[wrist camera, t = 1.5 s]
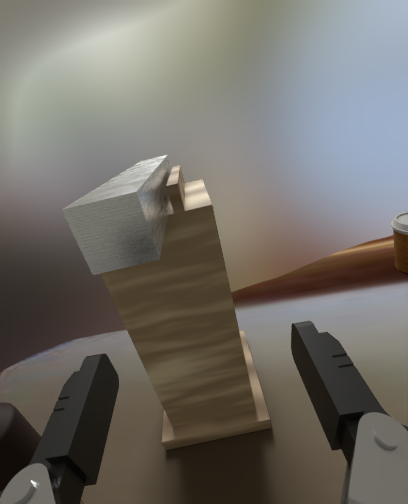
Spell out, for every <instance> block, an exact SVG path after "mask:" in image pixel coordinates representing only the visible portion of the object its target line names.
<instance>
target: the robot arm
mask: <svg viewBox="0 0 408 504" xmlns="http://www.w3.org/2000/svg"><path fill="white" fill-rule="evenodd" d="M291 350H292V355H293V359H294V361H295V364H296V366H297V369H298V371H299V373H300V376H301V378H302V380H303V383H304V385H305V388H306V390H307V392H308V395H309V397H310V399H311V402H312V404H313V406H314V409H315V411H316V413H317V416H318V418H319V421H320V423H321V425H322V428H323V430H324V432H325V435H326V437H327V439H328V442H329V444H330V446H331V449H332V450H339V449H342V451H343V453H344V456H345V458H346V460H347V466H346V472H345V479H344V485H343V491H342V498H341V504H408V427H406V426H404V425H402V424H400V423H399V422H398V421H397V420H395V419H393V418H392V417H391V416H389V415H388V414H387V413H386V412H385V411H384V409H383V408H382V407H381V405H380V404H379V402H378V401H377V399H376V398H375V396H374V395H373V393H372V392H371V390H370V389H369V387H368V385H367V384H366V382H365V381H364V379H363V378H362V376H361V375H360V373H359V372H358V370H357V368H356V367H355V366H354V365H353V362H352V361H351V359H350V358H349V356H347V353H346V352H345V350H344V348H343V347H342V345H341V344H340V342H339V341H338V340H337V339H335V338H334V337H333V336H332V335H330V334H329V333H328V332H324V333H318V331H317V329H316V328H315V326H314V324H313V323H312V322H311V321H306V322H300V323H293V324H292V332H291ZM118 388H119V378H118V374H117V372H116V371H115V369H114V367H113V365H112V363H111V362H110V360H109V358H108V356H107V355H106V354H99V355H92V356H87V357H86V358H85V359H84V361H83V363H82V366H81V368H80V371H77V372H74V373H73V374H72V375H71V377H70V378H69V379H68V380H67V382H66V383H65V384H64V386H63V389H62V391H61V393H60V395H59V398H58V399H59V400H58V401H57V402H56V405H55V407H54V409H53V410H54V411H53V413H52V414H51V416H50V419H49V421H48V423H47V425H46V428H45V430H44V432H43V435H42V437H41V439H40V442H39V444H38V446H37V449H36V451H35V453H34V456H33V458H32V460H31V462H30V463H29V465H28V466H27V467H25V468H24V469H22V470H21V471H20V472H19V473H17V474H16V475H15V476H14V477H13V478H12V480H11V481H10V482H9V483H8V485H7V486H6V488H5V489H4V490H2V491H1V492H0V504H83V501H82V499H81V497H82V493H83V489H84V486H88V485H94V484H96V482H97V478H98V473H99V469H100V465H101V461H102V456H103V452H104V448H105V444H106V440H107V435H108V431H109V427H110V423H111V418H112V414H113V410H114V406H115V401H116V397H117V393H118Z"/></svg>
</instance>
